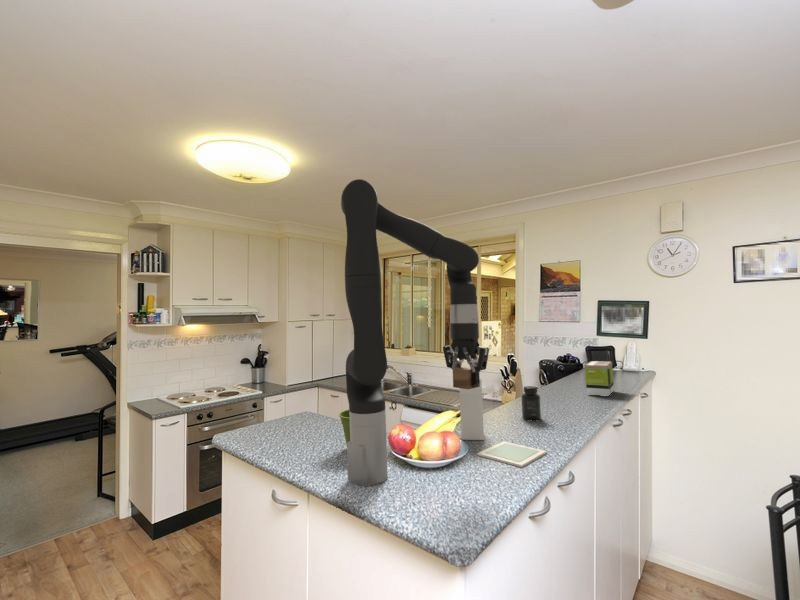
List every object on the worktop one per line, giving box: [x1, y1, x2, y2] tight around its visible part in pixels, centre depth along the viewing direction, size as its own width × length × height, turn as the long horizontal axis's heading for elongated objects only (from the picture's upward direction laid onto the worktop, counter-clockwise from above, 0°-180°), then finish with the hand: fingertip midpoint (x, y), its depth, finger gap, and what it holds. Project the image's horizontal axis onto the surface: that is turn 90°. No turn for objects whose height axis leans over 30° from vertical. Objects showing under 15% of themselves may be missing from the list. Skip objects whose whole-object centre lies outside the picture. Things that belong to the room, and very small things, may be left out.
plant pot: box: [338, 409, 350, 445], centre depth 124 cm, size 12×12×11 cm
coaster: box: [476, 440, 548, 468], centre depth 114 cm, size 14×14×1 cm
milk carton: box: [459, 378, 485, 441], centre depth 131 cm, size 7×7×19 cm
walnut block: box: [452, 366, 481, 389], centre depth 106 cm, size 5×5×5 cm
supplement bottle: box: [520, 385, 542, 422], centre depth 151 cm, size 7×7×12 cm
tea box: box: [584, 360, 615, 396], centre depth 191 cm, size 15×10×15 cm, turn 144°
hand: (466, 384), depth 106 cm, fingers closed on walnut block, 5 cm apart
